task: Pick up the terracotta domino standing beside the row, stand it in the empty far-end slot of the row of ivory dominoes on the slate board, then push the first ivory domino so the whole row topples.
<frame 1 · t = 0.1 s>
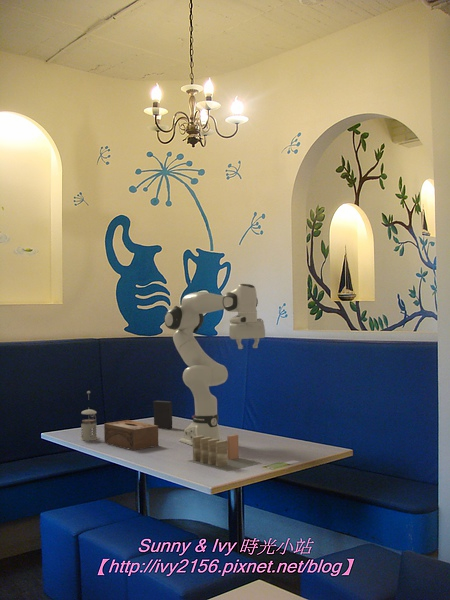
hand: (247, 348, 295), 48 cm above the table, tool pointing down, fingers open, 8 cm apart
domino 1: (198, 459, 275), point 1 cm above the table, touching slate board
domino 2: (206, 461, 272), point 1 cm above the table, touching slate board
domino 4: (221, 465, 264), point 1 cm above the table, touching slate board
domino 3: (213, 463, 268), point 1 cm above the table, touching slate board
tissue box cover: (131, 445, 316), on the table
black rectangular slab: (163, 428, 362), on the table
french press: (89, 438, 332), on the table
end domino: (233, 458, 277), point 1 cm above the table, touching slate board
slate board: (224, 464, 271), on the table
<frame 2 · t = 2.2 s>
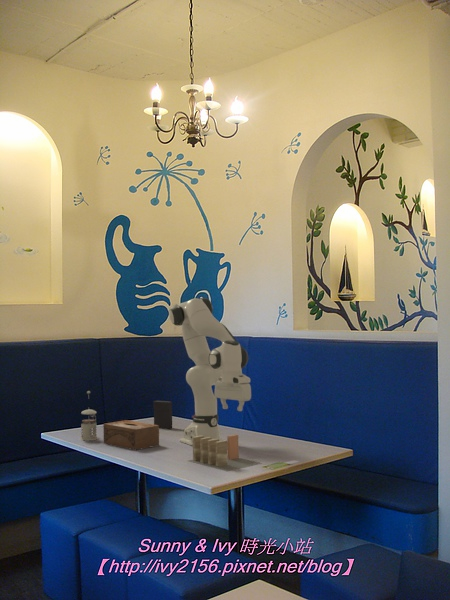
hand: (232, 409, 277), 22 cm above the table, tool pointing down, fingers open, 8 cm apart
nothing on the table moved.
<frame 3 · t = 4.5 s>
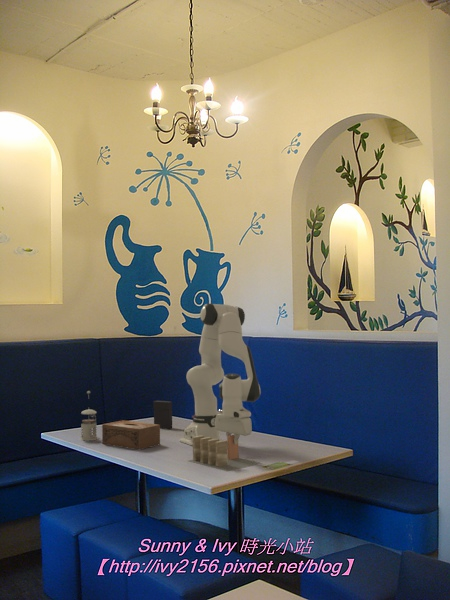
hand: (232, 443, 277), 8 cm above the table, tool pointing down, fingers closed on end domino, 2 cm apart
end domino: (233, 458, 277), point 1 cm above the table, touching gripper, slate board
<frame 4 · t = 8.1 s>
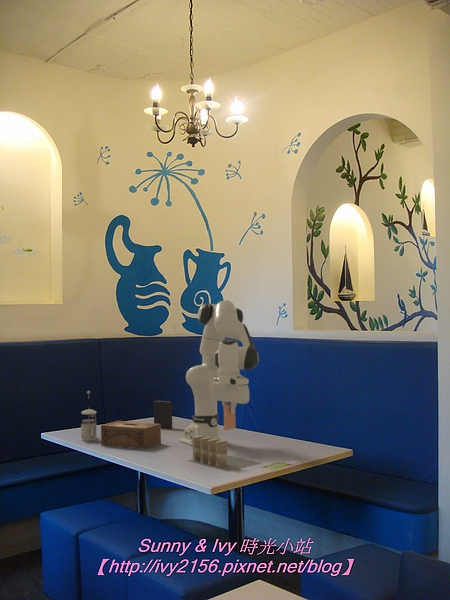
hand: (229, 412, 261), 23 cm above the table, tool pointing down, fingers closed on end domino
end domino: (229, 429, 261), point 17 cm above the table, touching gripper
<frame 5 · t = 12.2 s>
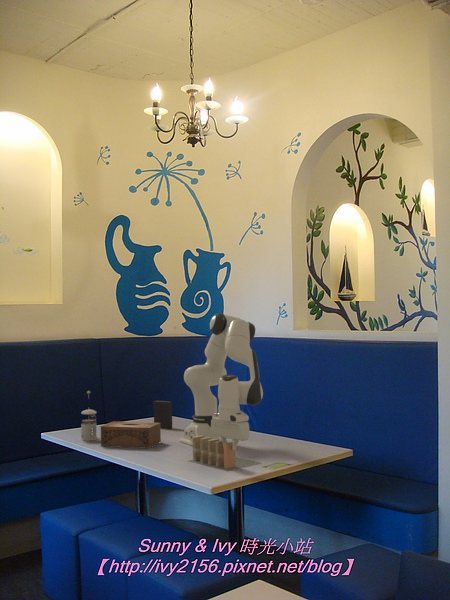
hand: (229, 448, 261), 9 cm above the table, tool pointing down, fingers open, 3 cm apart
end domino: (229, 467, 261), point 1 cm above the table, touching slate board
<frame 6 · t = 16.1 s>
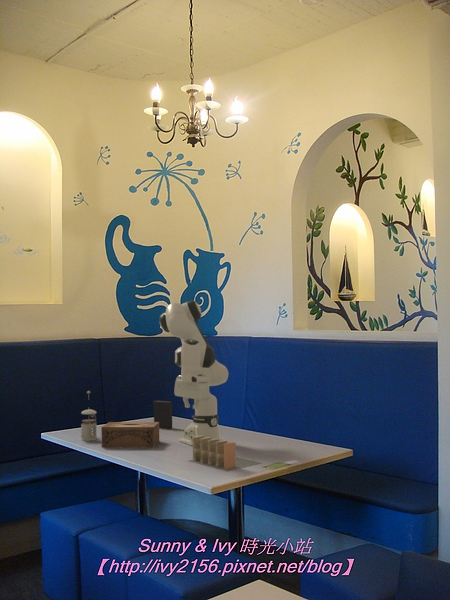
hand: (191, 408, 280), 23 cm above the table, tool pointing down, fingers open, 4 cm apart
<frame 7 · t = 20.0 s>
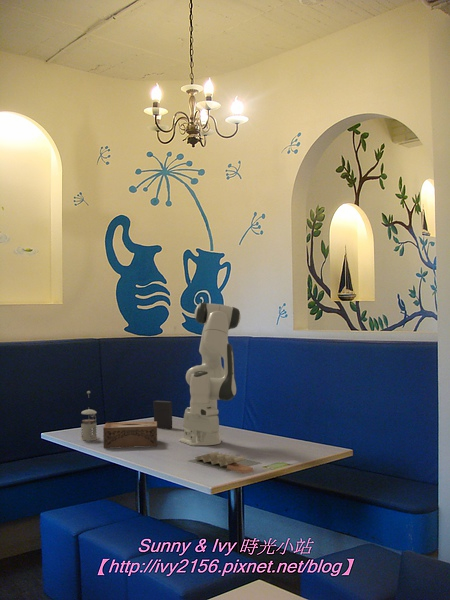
hand: (200, 441, 275), 9 cm above the table, tool pointing down, fingers closed
domino 1: (200, 458, 275), point 2 cm above the table, tilted 71°, touching domino 2, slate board
domino 2: (207, 460, 271), point 2 cm above the table, tilted 71°, touching domino 1, domino 3, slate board
domino 4: (224, 463, 263), point 2 cm above the table, tilted 70°, touching domino 3, end domino
domino 3: (215, 462, 267), point 2 cm above the table, tilted 70°, touching domino 2, domino 4
end domino: (231, 465, 260), point 2 cm above the table, tilted 93°, touching domino 4, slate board
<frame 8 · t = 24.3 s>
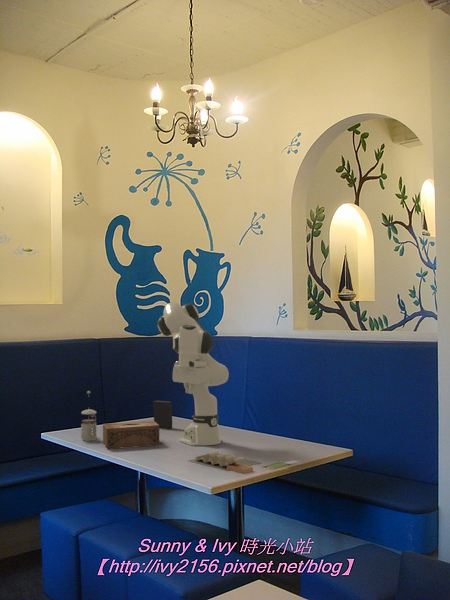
hand: (189, 393, 281), 29 cm above the table, tool pointing down, fingers closed
domino 3: (215, 462, 267), point 2 cm above the table, tilted 71°, touching domino 2, domino 4, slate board
at the end: end domino tilted 90°; end domino inside the target area (3.1 cm from its centre), point 1.8 cm above the table; domino 1 tilted 72° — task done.
